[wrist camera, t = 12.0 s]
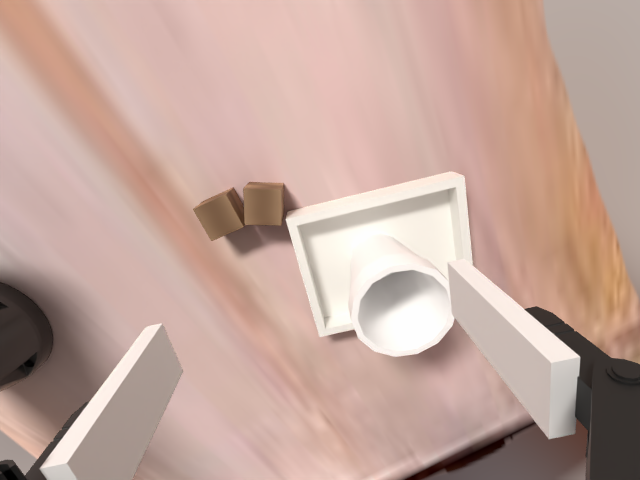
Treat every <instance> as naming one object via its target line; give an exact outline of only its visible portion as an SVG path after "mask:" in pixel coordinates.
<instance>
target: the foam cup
mask: <svg viewBox="0 0 640 480" xmlns="http://www.w3.org/2000/svg"><path fill="white" fill-rule="evenodd" d="M348 308H349V313H350V318H351V321H352V324H353V326H354V329H355V331H356V334H357V336H358V338H359V339H360V340H361V341H362V342H363V343H365V344H366V345H367V346H368V347H369V348H371V349H372V350H373V351H375V352H379V353H382V354H386V355H390V356H394V357H397V356H405V355H413V354H418V353H420V352H422V351H424V350H426V349H428V348H430V347H431V346H433V345H435V344H437V343H438V342H439V341H440V340H441V339H442V338H443V337H444V335H445V334H446V333H447V332H448V331H449V329H450V328H451V327H452V325H453V322H454V316H453V315H452V310H451V298H450V287H449V281H448V280H447V279H446V277H445V276H444V275H443V274H442V273H441V272H440V271H439V270H438V269H437V268H436V267H435V266H434V265H433V264H432V263H431V262H430V261H429V260H428V259H425V258H422V257H420V256H419V255H417V254H416V253H415V252H413V251H412V250H410V249H409V248H408V247H406V246H405V245H403V244H402V243H401V242H399V241H398V240H396V239H395V238H394V237H392V236H390V235H387V234H384V233H381V232H378V233H371V234H367V235H366V236H364V237H363V238H361V239H359V240H358V242H357V243H356V245H355V246H354V247H353V249H352V255H351V276H350V294H349V302H348Z"/></svg>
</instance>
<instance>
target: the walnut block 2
mask: <svg viewBox="0 0 640 480" xmlns="http://www.w3.org/2000/svg"><path fill="white" fill-rule="evenodd" d="M243 193H244V218H245V225H282V221H283V217H284V183H261V182H249V183H248V184H247V185H246V186H245V187H244V188H243Z"/></svg>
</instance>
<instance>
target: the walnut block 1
mask: <svg viewBox="0 0 640 480" xmlns="http://www.w3.org/2000/svg"><path fill="white" fill-rule="evenodd" d="M193 210H194V212H195V214H196V216H197V217H198V219H199V221H200V222H201V224H202V226H203V228H204V229H205V231H206V233H207V234H208V236H209V238H210V239H211V241H213V240H215V239H218V238H220V237H222V236H225V235H227V234H229V233H231V232H234V231H236V230H238V229H241V228H243V227H244V226H245V218H244V207H243V205H242V203H241V201H240V199H239V197H238V195H237V193H236V191H235V190H234V188H231V189H229V190H227V191H225V192H222V193H220V194H218V195H216V196H214V197H211V198H209V199H207V200H205V201H203V202H202V203H200V204H199V205H198V206H197V207H195V208H194V209H193Z"/></svg>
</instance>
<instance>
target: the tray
mask: <svg viewBox="0 0 640 480" xmlns="http://www.w3.org/2000/svg"><path fill="white" fill-rule="evenodd" d="M286 222H287V226H288V229H289V233H290V236H291V240H292V243H293V247H294V250H295V253H296V257H297V260H298V264H299V267H300V271H301V274H302V278H303V281H304V285H305V288H306V292H307V295H308V299H309V302H310V306H311V309H312V312H313V316H314V319H315V323H316V326H317V330H318V333H319V337H322V336H327V335H331V334H336V333H340V332H345V331H349V330H354V326H353V324H352V321H351V318H350V313H349V308H348V302H349V294H350V276H351V255H352V249H353V247H354V246H355V245H356V243H357V242H358V240H359V239H361V238H363V237H364V236H366V235H367V234H371V233H378V232H381V233H384V234H387V235H390V236H392V237H394V238H395V239H396V240H398V241H399V242H401V243H402V244H403V245H405V246H406V247H408V248H409V249H410V250H412V251H413V252H415V253H416V254H417V255H419V256H420V257H422V258H425V259H428V260H429V261H430V262H431V263H432V264H433V265H434V266H435V267H436V268H437V269H438V270H439V271H440V272H441V273H442V274H443V275H444V276H445V277H446V279H447V280H448V281H449V276H448V265H447V262H450V261H455V260H460V259H465V260H467V261H468V262H469V263H470V264H471V265H472V266H473V262H472V251H471V241H470V230H469V219H468V209H467V198H466V188H465V177H464V176H463V175H461V174H458V173H455V172H452V171H450V172H446V173H442V174H438V175H434V176H430V177H426V178H422V179H418V180H413V181H409V182H405V183H401V184H397V185H393V186H389V187H385V188H381V189H377V190H373V191H369V192H364V193H360V194H356V195H352V196H348V197H344V198H340V199H336V200H332V201H328V202H324V203H320V204H315V205H311V206H307V207H303V208H299V209H295V210H291V211H287V216H286Z"/></svg>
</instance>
